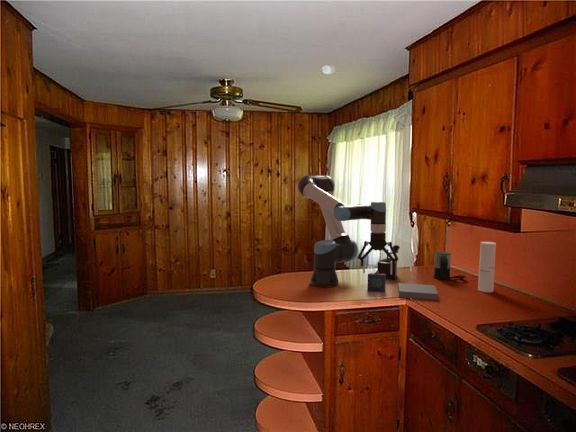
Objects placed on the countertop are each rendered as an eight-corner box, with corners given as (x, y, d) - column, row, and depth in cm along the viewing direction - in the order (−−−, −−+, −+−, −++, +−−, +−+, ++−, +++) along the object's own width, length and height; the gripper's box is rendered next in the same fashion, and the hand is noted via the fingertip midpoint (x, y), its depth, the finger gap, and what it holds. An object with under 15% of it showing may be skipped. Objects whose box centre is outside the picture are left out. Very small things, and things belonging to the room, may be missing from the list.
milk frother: (430, 275, 239) (431, 251, 237) (456, 275, 240) (457, 250, 239) (441, 282, 225) (442, 256, 223) (468, 281, 226) (470, 255, 225)
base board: (399, 297, 198) (399, 291, 197) (398, 288, 212) (398, 283, 212) (437, 300, 193) (438, 293, 193) (434, 291, 208) (434, 285, 208)
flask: (384, 290, 209) (385, 270, 208) (386, 292, 206) (386, 271, 205) (367, 290, 210) (367, 269, 208) (367, 291, 207) (368, 271, 206)
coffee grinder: (396, 280, 228) (397, 249, 226) (376, 278, 232) (377, 247, 230) (399, 274, 243) (400, 244, 241) (380, 272, 247) (381, 243, 245)
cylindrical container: (496, 292, 206) (499, 244, 204) (482, 292, 206) (485, 244, 203) (488, 288, 213) (491, 241, 211) (475, 288, 213) (477, 241, 210)
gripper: (352, 232, 204) (352, 273, 206) (403, 233, 198) (403, 276, 200) (353, 230, 211) (353, 270, 213) (403, 231, 205) (402, 272, 207)
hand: (377, 273), depth 207 cm, fingers open, 13 cm apart
